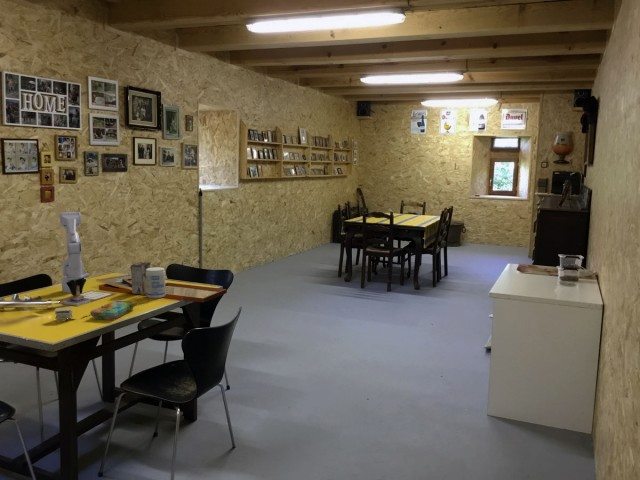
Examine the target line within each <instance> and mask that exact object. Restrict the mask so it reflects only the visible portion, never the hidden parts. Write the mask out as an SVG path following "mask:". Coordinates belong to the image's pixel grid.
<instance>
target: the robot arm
mask: <svg viewBox="0 0 640 480" xmlns="http://www.w3.org/2000/svg"><path fill="white" fill-rule="evenodd" d="M59 223H60V227H62V228H64V229H65V232H66V234H65V235H66V245H65V246H66V254H67V258H66V259H65V260H63V261H62V275H63V277H62V279H61V291H62V292H65V293H68V294H70V295H71V296H72V295H74V296H75V295H76V287H77V285H79V286H80V294H82V293H83V289H84V286H85V284H86V282H87V278H89V277H90V273H88V272H85V273H84V263H83V261H82V252H83V248H82V247H83V246H82V243H81V240H80V235H79V234H80V233H78V232H77V228H78V227H80V226H81V223H82V214H81V212H80V211H66V212H65V211H64V212H62V211H60V212H59Z"/></svg>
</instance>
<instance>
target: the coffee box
mask: <svg viewBox="0 0 640 480" xmlns="http://www.w3.org/2000/svg"><path fill="white" fill-rule="evenodd" d="M147 268H151V262H142V261H141V262H140V261H139V262H137V263H135V264H131V265H130V271H131V272H130V275H131V292H132V294H135V295H136V294H139V295H140V296H142V297H143V296H146V269H147Z"/></svg>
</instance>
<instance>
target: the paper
mask: <svg viewBox="0 0 640 480" xmlns="http://www.w3.org/2000/svg"><path fill="white" fill-rule="evenodd" d="M90 291H91V290H90ZM93 291H94V290H92V291H91V292H88V291H86V292H87V293H84V292H83V293H84V294H80V295H84V298H86V299H93V300H95V299H99V298H102V297H105V296H108V295H112V294H109V293H110V292H107V293H101V292H102V291H100V292H93Z"/></svg>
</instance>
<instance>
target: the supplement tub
mask: <svg viewBox="0 0 640 480" xmlns="http://www.w3.org/2000/svg"><path fill="white" fill-rule="evenodd" d="M145 296H146V298H149V299H160V298H163V297H165V296H166V271H165V267H162V266H161V267H160V266H159V267H156V266H155V267H150V268H147V269H146V293H145Z"/></svg>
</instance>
